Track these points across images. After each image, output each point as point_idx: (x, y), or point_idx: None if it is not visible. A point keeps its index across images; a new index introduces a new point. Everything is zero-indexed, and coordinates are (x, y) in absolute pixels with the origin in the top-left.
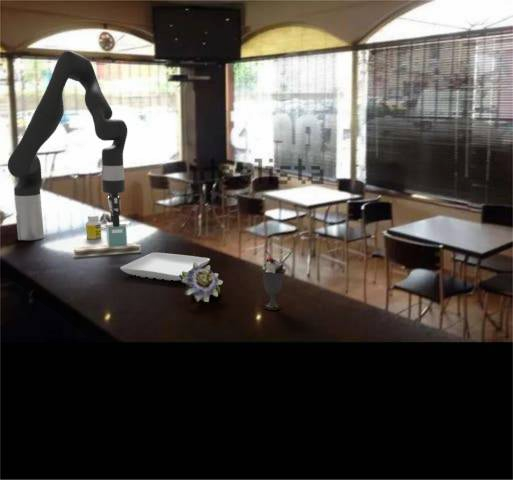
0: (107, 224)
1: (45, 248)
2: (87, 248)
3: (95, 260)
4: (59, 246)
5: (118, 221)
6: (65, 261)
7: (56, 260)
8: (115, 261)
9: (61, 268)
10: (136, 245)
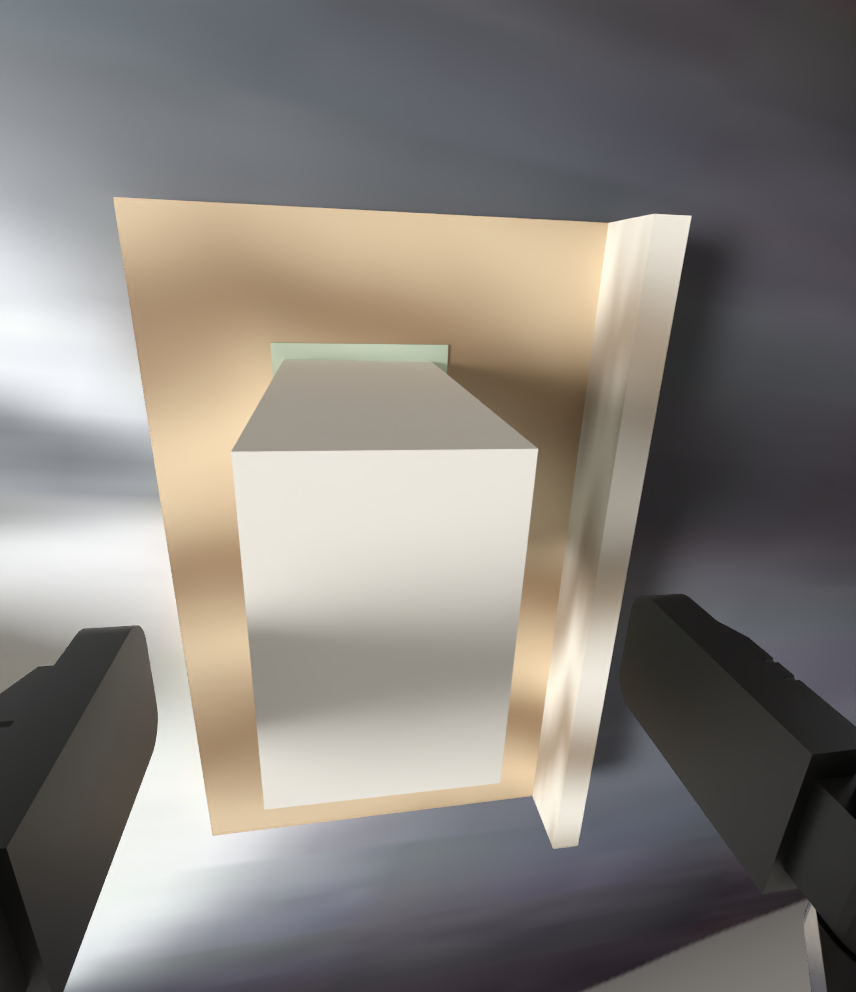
0: (458, 783)
1: (100, 982)
2: None
3: (620, 645)
4: None
5: (740, 664)
6: None
7: (502, 867)
8: (728, 501)
9: None
10: (672, 272)
